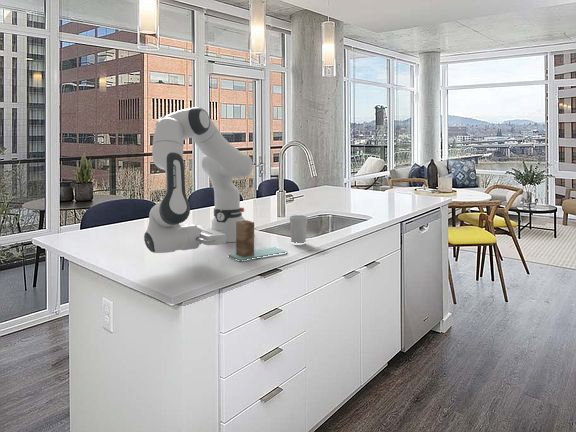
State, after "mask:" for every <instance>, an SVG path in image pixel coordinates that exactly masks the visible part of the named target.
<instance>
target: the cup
mask: <svg viewBox="0 0 576 432" xmlns="http://www.w3.org/2000/svg"><path fill="white" fill-rule="evenodd" d="M308 221H309V216H307V215H303V214H293V215H289V224H290V225H289V226H290V227H289V228H290V240H291V241H290V243H291V242H294V243H296V242H297V243H304V242H306V241H307V228H308Z"/></svg>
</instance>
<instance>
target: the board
mask: <svg viewBox="0 0 576 432" xmlns="http://www.w3.org/2000/svg"><path fill="white" fill-rule="evenodd" d="M285 252H287V253H288V251H287V250H284V249H281V248H278V247H276V246H275V247H267V248H261V249H254V256H247V257H241V256H239V255H236V252H235V253H229V254H228V253H227V254H228V255H227V256H229V257H228V258H230V257H231V258H230V259H232V258H234V259H233V260H235V259H237V260H240V261H242V260H247V259H252V258H257V257H263V256H268V255H273V254H279V253H285ZM237 260H236V261H237ZM240 261H239V262H240ZM242 262H243V261H242Z"/></svg>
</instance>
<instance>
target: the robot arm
mask: <svg viewBox="0 0 576 432" xmlns="http://www.w3.org/2000/svg"><path fill="white" fill-rule="evenodd" d="M188 139H192V141H193V143H194V144H195V145H196V146H197V148H198V149H199V150H200V151H201V153H202V154H203V155H204V156H203V157H202V160H201V167H202V170H203V172H205V174H206V175H207V176H208V177H209V179H210V182H211V185H212V188H213V194H214V195H213V196H214V208H213V218H212V220H211V228H210V227H207V226H204V225H200V224H195V223H191V224H185V223H183V222H185V221H186V220H187V219H188V218H189V216H190V213H191V208H190V207H191V206H190V203H189V199H188V196H187V192H186V179H185V177H186V176H185V175H186V174H185V163H184V141H185V140H188ZM151 157H152V161H153V163H154V165H155V166H156V167H157V168H159V169H160V170H164V171H165V188H166V190H165V195H164V196H163V197H162V199H161V201H159V202H157V203H156V204H155V205H153V206H152V207H151V209H150V210H149V213H148V225H147V229H146V231H145V233H144V235H143V236H144V237H143V240H144V244H145V246H146V249H148V250H149V251H150V252H152V253H153V254H168V253H174V252H176V251H188V250H196V249H198V248H199V247H200V246H201V245H202V244H203V245H206V246H219V245H225V244H227V243H234V242H235V243H236V222H238V221H246V219H245V218H244V217H243V213H244V212H245V208H244V207H241V205H240V204H241V203H240V202H241V201H240V200H241V199H240V197H241V196H240V194H241V193H240V190H239V188H238V187H237V186H236V185H235V184H234V183H233V180H232V178H233V179H234V178H235V179H240V178H246V177H249V176H250V175H251V173H252V172H253V168H254V163H253V160H252V158H251V157H250V155H248V154H246V153H244V152H242V151H241V150H239V149H238V148H237V147H235V146H234V145H233V144H231V143H230V141H228V140H227V139H226V138H225V137H224V136H223V134H222V133H221V132H220V130H219V128H218V127H217V126H216V125H215V123H214V122H213V120H212V119H211V118H210V116H209V114H208V112H207V111H206V110H205V109H203V108H202V107H201V106H200V107H199V106H198V107H197V106H195V107H194V106H192V107H190V108H185V109H180V110H177V111H175V112H171V113H169V114H165V115H162V116H161V117H160V118H158V119H157V120H156V124H155V128H154V133H153V137H152V148H151ZM182 223H183V224H182Z"/></svg>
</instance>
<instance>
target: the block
mask: <svg viewBox="0 0 576 432" xmlns="http://www.w3.org/2000/svg"><path fill="white" fill-rule="evenodd" d="M245 220H246V219H245ZM235 245H236V247H235V248H236V249H235V251H236V252H235V253H236V255H239V256H241V257H247V256H254V250H255V222H254V221H251V220H246V221H238V222H236V242H235Z"/></svg>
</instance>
